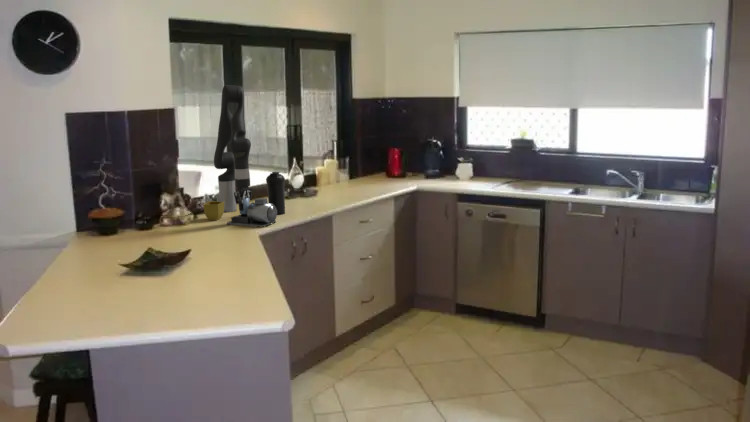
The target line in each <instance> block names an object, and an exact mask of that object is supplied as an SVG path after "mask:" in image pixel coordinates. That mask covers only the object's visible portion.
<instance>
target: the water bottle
mask: <svg viewBox="0 0 750 422" xmlns="http://www.w3.org/2000/svg"><path fill="white" fill-rule="evenodd" d="M265 182H266V185H267V188H266V189H267V190H266V191H267V203H270V204H274V206H275V207H276V209H277V216H282V215H285V214H286V206H285V205H286V199H285V197H286V196H285V195H286V194H285V191H286V189H285V183H286V179H285V176H284V175H282V174H281V171H272V172H271V173H269V175H267V177H266V178H265Z"/></svg>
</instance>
